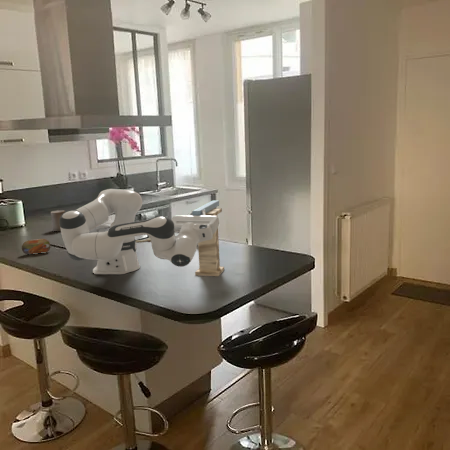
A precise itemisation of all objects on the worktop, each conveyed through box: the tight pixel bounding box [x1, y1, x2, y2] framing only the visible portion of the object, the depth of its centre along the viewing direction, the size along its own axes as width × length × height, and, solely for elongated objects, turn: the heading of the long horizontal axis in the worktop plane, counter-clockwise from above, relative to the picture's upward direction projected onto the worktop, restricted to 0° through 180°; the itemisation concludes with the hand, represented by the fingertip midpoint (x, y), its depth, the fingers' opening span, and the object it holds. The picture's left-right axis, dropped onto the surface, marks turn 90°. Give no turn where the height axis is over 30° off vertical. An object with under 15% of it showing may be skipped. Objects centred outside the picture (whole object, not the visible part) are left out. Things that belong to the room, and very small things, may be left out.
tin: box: [21, 238, 51, 255], centre depth 262 cm, size 15×3×8 cm, turn 109°
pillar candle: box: [50, 209, 66, 232], centre depth 324 cm, size 10×10×15 cm
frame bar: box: [192, 199, 220, 216], centre depth 209 cm, size 30×3×2 cm, turn 165°
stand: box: [194, 207, 225, 277], centre depth 212 cm, size 14×11×29 cm
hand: (198, 211), depth 198 cm, fingers closed on frame bar, 3 cm apart
